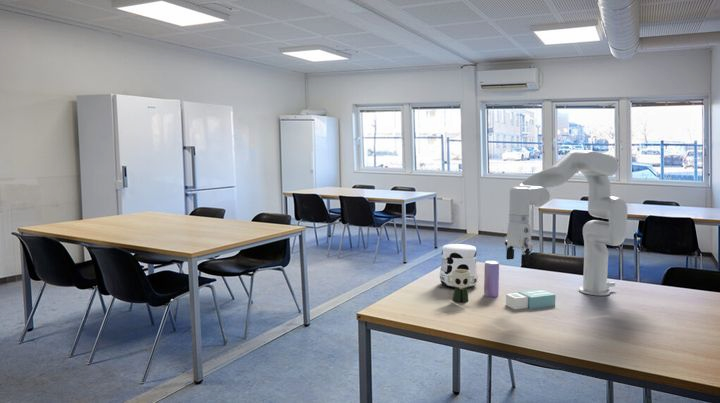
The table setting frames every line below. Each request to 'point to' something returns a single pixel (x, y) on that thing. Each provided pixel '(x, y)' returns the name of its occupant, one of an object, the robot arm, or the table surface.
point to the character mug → (460, 284)
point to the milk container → (458, 262)
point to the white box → (517, 301)
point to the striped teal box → (539, 298)
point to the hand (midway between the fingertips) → (517, 261)
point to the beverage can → (491, 279)
